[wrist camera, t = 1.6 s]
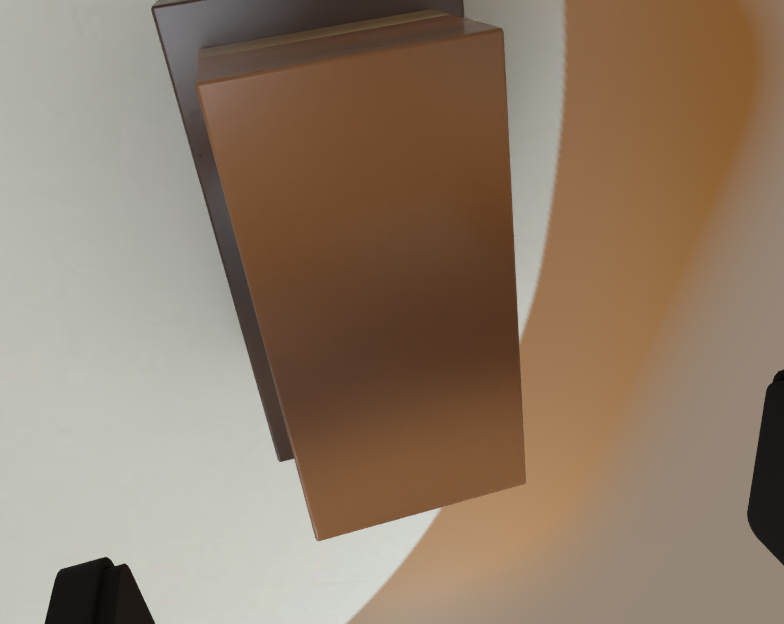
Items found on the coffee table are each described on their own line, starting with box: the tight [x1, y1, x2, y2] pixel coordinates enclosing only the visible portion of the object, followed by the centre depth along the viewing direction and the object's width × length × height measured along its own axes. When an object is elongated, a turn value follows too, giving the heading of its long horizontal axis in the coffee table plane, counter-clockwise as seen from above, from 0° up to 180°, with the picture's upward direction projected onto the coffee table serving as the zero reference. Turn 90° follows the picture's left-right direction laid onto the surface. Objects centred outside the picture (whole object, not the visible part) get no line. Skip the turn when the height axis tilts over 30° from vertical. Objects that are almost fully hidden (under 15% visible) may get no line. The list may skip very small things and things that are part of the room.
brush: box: [196, 9, 526, 541], centre depth 17 cm, size 11×6×4 cm, turn 8°
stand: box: [151, 0, 464, 462], centre depth 21 cm, size 13×7×7 cm, turn 8°
